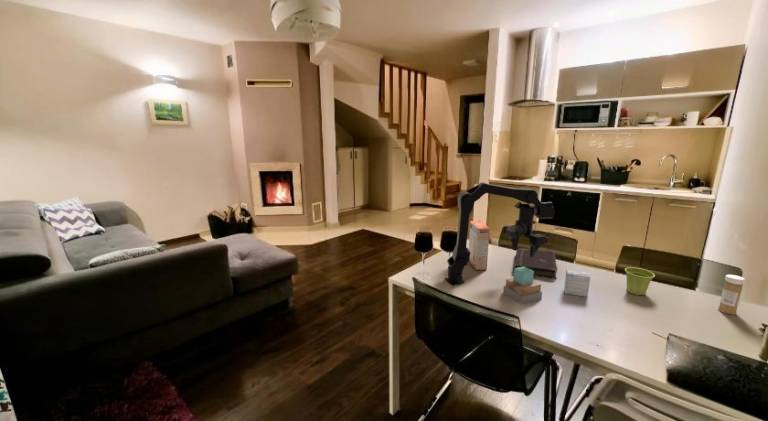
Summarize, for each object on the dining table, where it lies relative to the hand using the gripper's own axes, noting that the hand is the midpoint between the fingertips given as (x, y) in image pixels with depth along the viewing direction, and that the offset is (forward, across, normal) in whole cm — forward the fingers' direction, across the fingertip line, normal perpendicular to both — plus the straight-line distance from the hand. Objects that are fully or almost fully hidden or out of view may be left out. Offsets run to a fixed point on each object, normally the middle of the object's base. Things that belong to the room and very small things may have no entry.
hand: (522, 253), depth 136 cm
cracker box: (+13, -23, -5) cm, 27 cm away
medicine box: (+13, +17, +12) cm, 25 cm away
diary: (+14, -10, +19) cm, 26 cm away
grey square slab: (+14, +10, -9) cm, 19 cm away
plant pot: (+13, +26, +35) cm, 46 cm away
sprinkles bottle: (+13, +48, +48) cm, 69 cm away
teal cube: (+7, +10, -9) cm, 15 cm away
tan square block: (+10, +10, -9) cm, 17 cm away
